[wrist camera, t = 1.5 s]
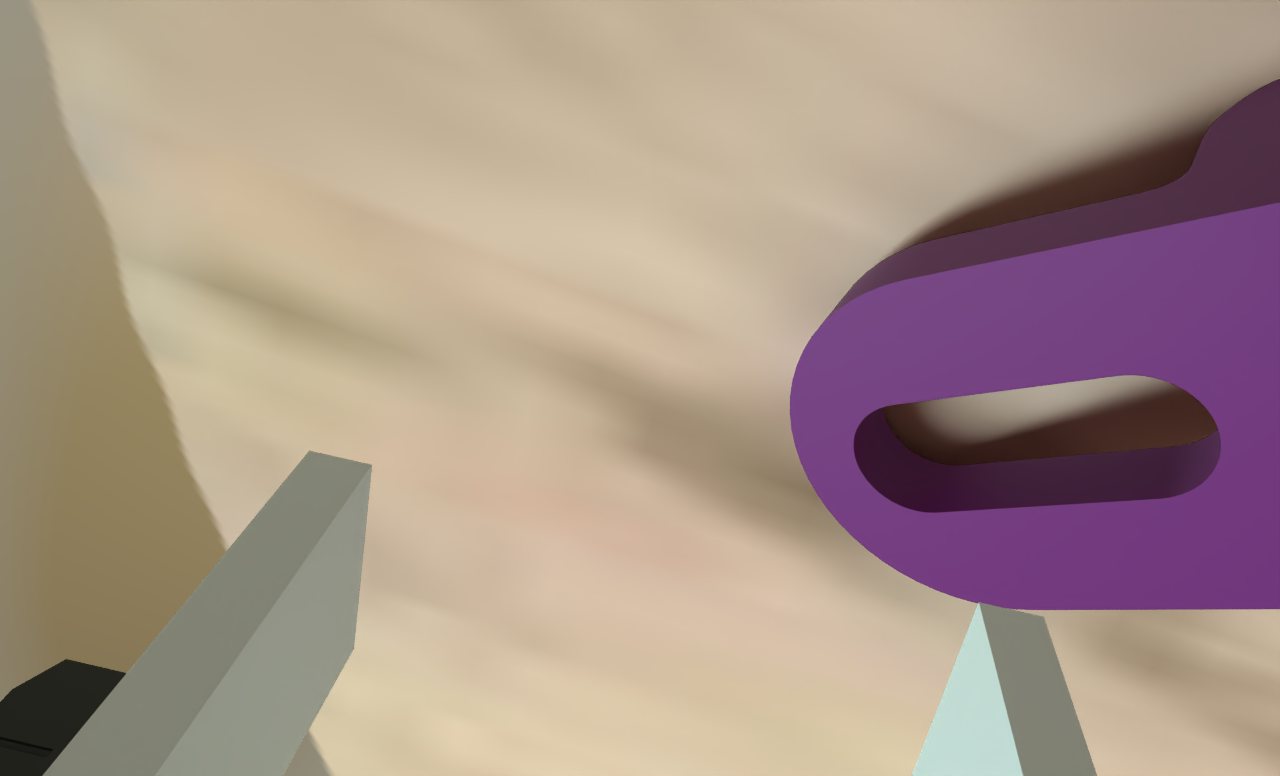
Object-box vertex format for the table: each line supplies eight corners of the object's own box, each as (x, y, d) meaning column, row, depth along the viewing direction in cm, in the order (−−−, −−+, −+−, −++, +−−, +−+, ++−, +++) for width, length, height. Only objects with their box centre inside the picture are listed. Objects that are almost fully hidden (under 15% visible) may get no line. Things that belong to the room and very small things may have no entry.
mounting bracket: (960, 440, 37) (1707, 365, 26) (867, 609, 32) (1778, 609, 20) (857, 178, 34) (1656, -39, 23) (733, 312, 28) (1723, 110, 17)
